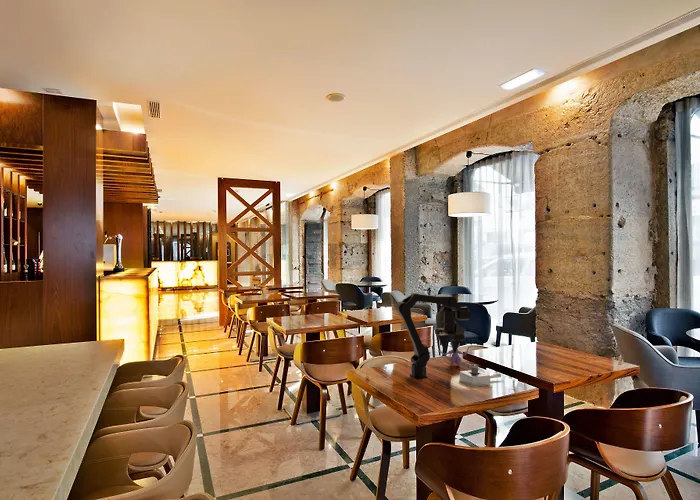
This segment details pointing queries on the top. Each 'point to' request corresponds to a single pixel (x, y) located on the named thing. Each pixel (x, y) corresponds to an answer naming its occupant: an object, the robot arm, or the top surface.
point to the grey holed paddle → (477, 378)
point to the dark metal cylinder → (474, 369)
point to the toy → (455, 355)
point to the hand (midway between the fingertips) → (449, 350)
